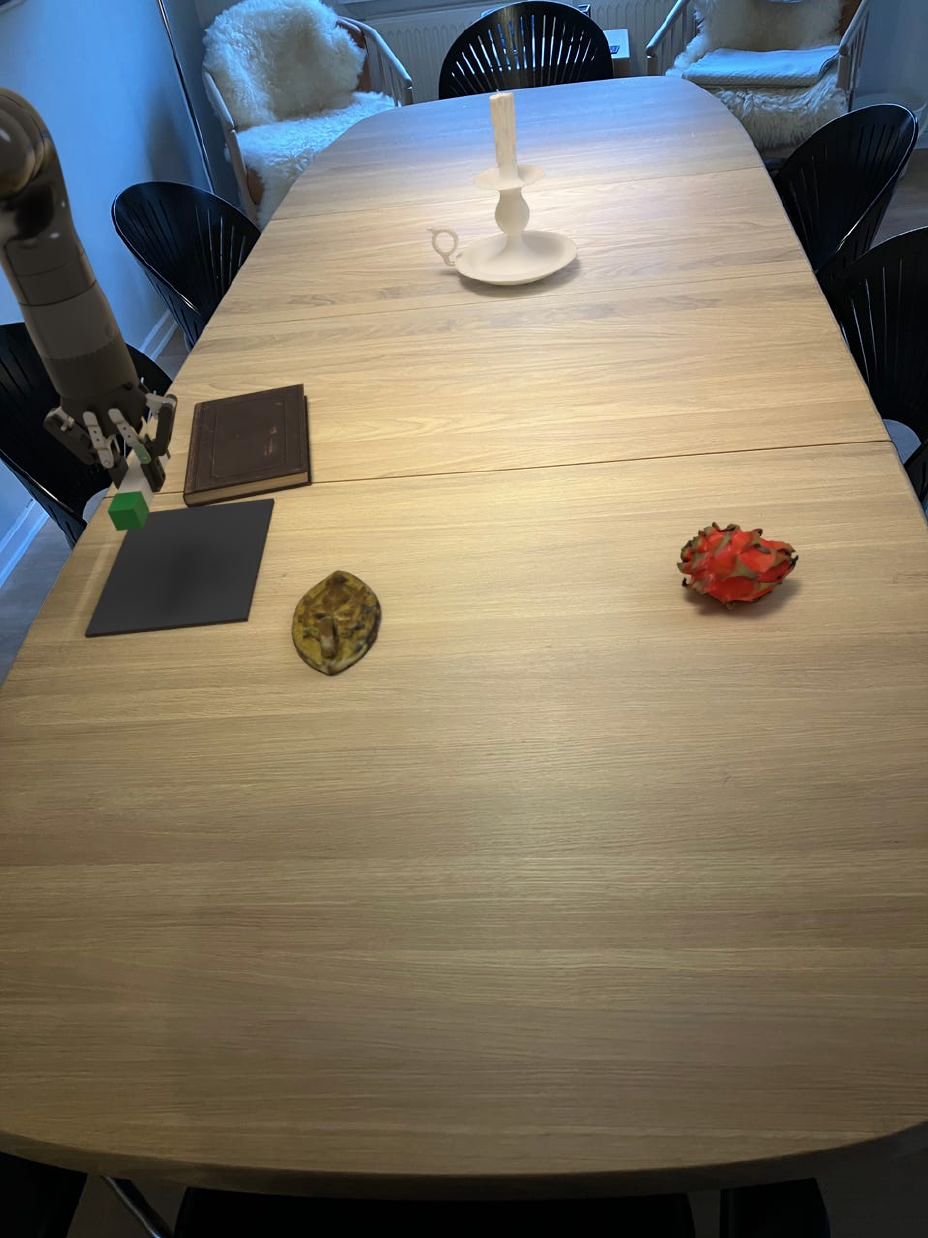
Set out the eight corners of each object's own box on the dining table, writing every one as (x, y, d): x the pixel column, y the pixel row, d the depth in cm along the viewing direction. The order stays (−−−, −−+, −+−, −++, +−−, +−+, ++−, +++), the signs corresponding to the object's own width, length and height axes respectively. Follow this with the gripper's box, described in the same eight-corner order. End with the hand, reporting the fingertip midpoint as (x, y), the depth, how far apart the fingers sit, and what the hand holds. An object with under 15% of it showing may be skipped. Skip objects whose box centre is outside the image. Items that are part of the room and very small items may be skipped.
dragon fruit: (664, 602, 96) (779, 606, 96) (684, 612, 87) (810, 615, 87) (669, 519, 94) (785, 523, 95) (689, 521, 86) (817, 525, 86)
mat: (86, 637, 100) (84, 634, 100) (135, 516, 116) (133, 513, 116) (247, 621, 99) (246, 617, 99) (274, 501, 115) (273, 497, 115)
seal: (299, 592, 103) (294, 688, 92) (284, 560, 100) (276, 655, 89) (379, 572, 102) (384, 666, 91) (366, 539, 99) (369, 632, 88)
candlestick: (444, 253, 167) (420, 79, 148) (581, 244, 162) (575, 64, 143) (423, 304, 152) (393, 118, 133) (573, 296, 147) (565, 102, 128)
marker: (147, 459, 102) (139, 439, 100) (171, 456, 102) (163, 436, 100) (116, 531, 92) (107, 511, 91) (142, 528, 92) (133, 508, 90)
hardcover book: (306, 397, 134) (303, 382, 132) (311, 484, 117) (307, 469, 115) (197, 417, 133) (192, 403, 132) (186, 508, 116) (180, 493, 115)
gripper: (159, 308, 87) (215, 462, 99) (19, 326, 88) (90, 476, 100) (140, 345, 82) (201, 503, 94) (-10, 364, 83) (70, 518, 95)
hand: (144, 489), depth 97 cm, fingers closed on marker, 2 cm apart
